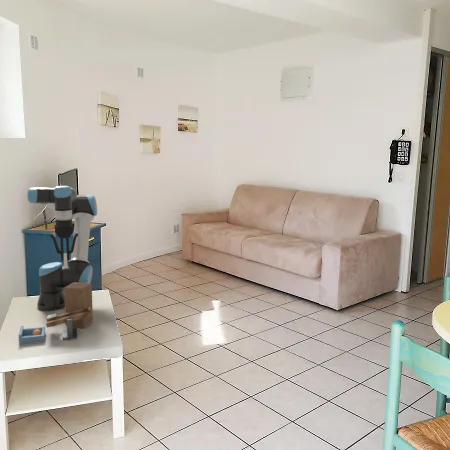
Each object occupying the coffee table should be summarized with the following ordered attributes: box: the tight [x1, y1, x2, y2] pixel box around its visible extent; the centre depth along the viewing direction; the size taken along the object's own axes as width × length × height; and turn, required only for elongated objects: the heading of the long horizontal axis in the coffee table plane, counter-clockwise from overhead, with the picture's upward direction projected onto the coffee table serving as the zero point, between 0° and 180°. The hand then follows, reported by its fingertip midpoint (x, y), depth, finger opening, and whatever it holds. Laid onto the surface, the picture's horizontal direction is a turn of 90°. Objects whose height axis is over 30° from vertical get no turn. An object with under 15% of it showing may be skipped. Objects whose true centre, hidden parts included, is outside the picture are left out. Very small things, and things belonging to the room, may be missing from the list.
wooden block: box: [63, 282, 94, 329], centre depth 231 cm, size 10×10×20 cm
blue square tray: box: [18, 325, 46, 346], centre depth 215 cm, size 10×10×4 cm
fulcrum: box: [62, 312, 78, 341], centre depth 220 cm, size 6×11×9 cm, turn 18°
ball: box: [33, 329, 41, 336], centre depth 216 cm, size 4×4×4 cm
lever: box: [45, 305, 92, 329], centre depth 222 cm, size 20×13×4 cm, turn 108°
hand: (65, 267), depth 229 cm, fingers closed
